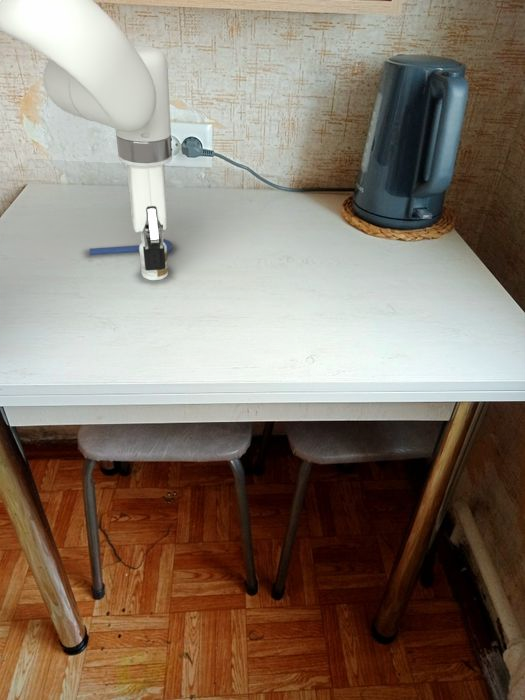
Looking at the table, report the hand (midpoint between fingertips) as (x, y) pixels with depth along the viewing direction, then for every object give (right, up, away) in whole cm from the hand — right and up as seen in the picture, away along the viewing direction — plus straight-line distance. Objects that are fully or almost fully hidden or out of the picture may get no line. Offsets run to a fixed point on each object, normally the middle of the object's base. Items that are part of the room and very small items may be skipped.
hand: (153, 259), depth 84 cm
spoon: (-5, +3, +8) cm, 10 cm away
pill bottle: (0, -2, +2) cm, 3 cm away
